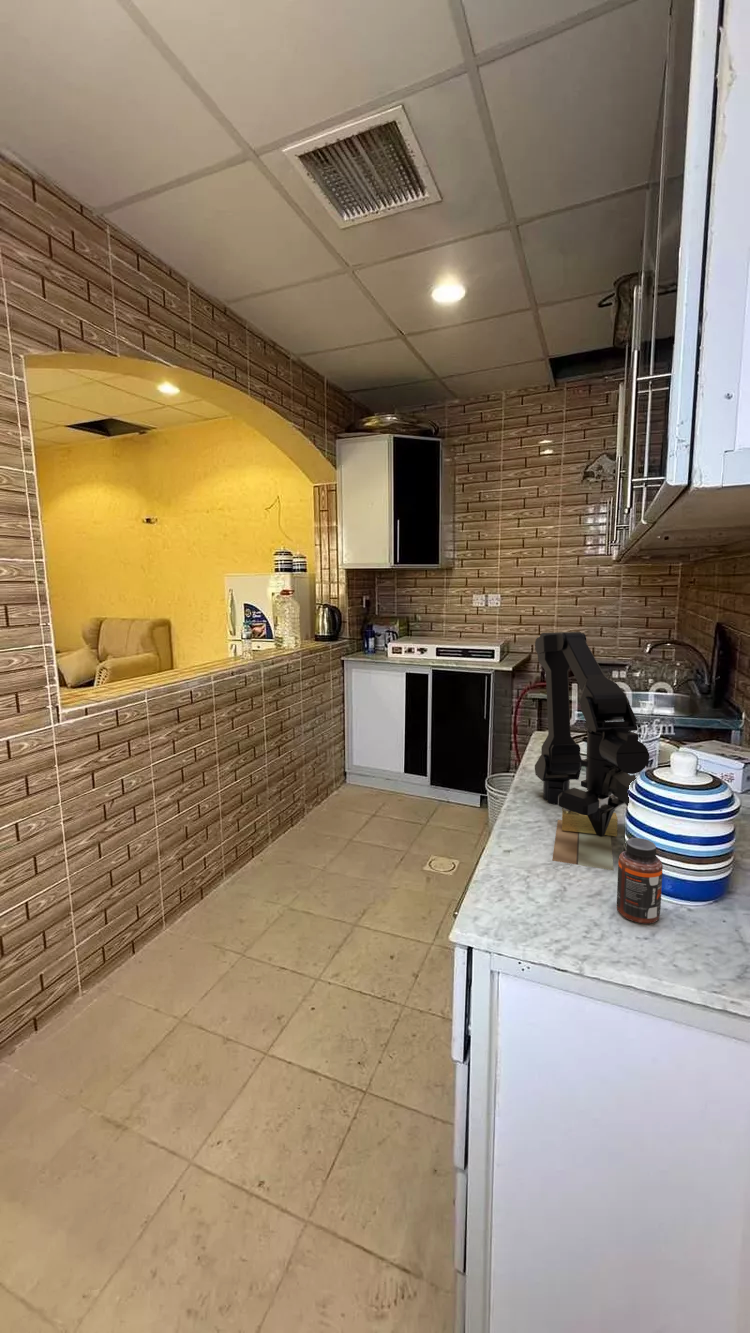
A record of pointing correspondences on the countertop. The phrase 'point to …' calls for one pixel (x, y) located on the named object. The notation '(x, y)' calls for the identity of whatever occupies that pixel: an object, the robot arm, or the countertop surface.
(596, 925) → the countertop surface
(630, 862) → the supplement bottle
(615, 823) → the latch bar
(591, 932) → the countertop surface
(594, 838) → the door board
